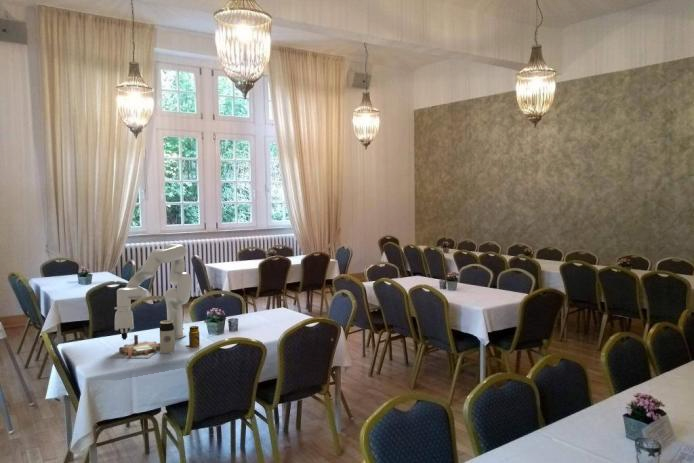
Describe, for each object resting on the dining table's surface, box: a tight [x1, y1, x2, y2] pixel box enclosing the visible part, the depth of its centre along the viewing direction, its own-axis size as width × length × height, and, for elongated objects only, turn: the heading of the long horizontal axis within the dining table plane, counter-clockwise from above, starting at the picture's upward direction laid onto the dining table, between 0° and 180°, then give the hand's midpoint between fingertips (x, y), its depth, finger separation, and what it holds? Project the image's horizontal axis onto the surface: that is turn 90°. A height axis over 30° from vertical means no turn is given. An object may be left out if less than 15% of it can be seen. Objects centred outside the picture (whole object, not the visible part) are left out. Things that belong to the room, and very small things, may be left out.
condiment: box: [184, 325, 202, 349], centre depth 328 cm, size 7×8×12 cm
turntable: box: [118, 334, 160, 355], centre depth 320 cm, size 23×23×7 cm
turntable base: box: [109, 348, 160, 360], centre depth 318 cm, size 26×22×6 cm
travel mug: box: [159, 319, 176, 355], centre depth 317 cm, size 8×8×18 cm
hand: (124, 339), depth 325 cm, fingers closed
